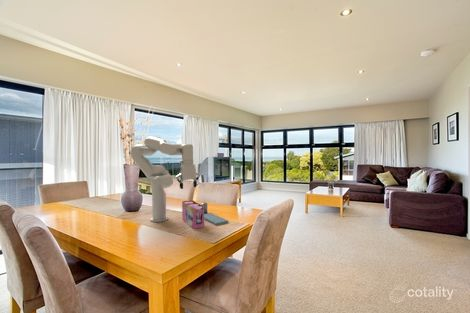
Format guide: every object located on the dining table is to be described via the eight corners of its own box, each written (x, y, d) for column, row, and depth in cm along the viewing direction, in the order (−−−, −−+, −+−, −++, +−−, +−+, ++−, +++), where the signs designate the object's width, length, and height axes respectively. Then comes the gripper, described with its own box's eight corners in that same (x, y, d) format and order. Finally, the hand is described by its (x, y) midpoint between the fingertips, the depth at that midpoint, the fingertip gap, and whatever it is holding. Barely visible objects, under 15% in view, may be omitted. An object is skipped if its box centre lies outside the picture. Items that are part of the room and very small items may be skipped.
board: (199, 217, 172) (199, 215, 172) (210, 214, 178) (210, 212, 178) (215, 225, 152) (215, 223, 152) (228, 222, 158) (228, 220, 158)
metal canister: (200, 213, 183) (199, 203, 183) (205, 212, 186) (205, 202, 186) (202, 214, 179) (202, 204, 179) (208, 213, 182) (208, 203, 181)
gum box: (205, 227, 149) (205, 206, 149) (194, 229, 145) (193, 208, 145) (192, 218, 170) (192, 199, 169) (182, 219, 166) (181, 201, 165)
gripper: (177, 163, 146) (178, 190, 146) (201, 162, 156) (202, 187, 157) (173, 163, 152) (174, 188, 152) (196, 161, 162) (197, 185, 163)
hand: (188, 187), depth 154 cm, fingers open, 9 cm apart
